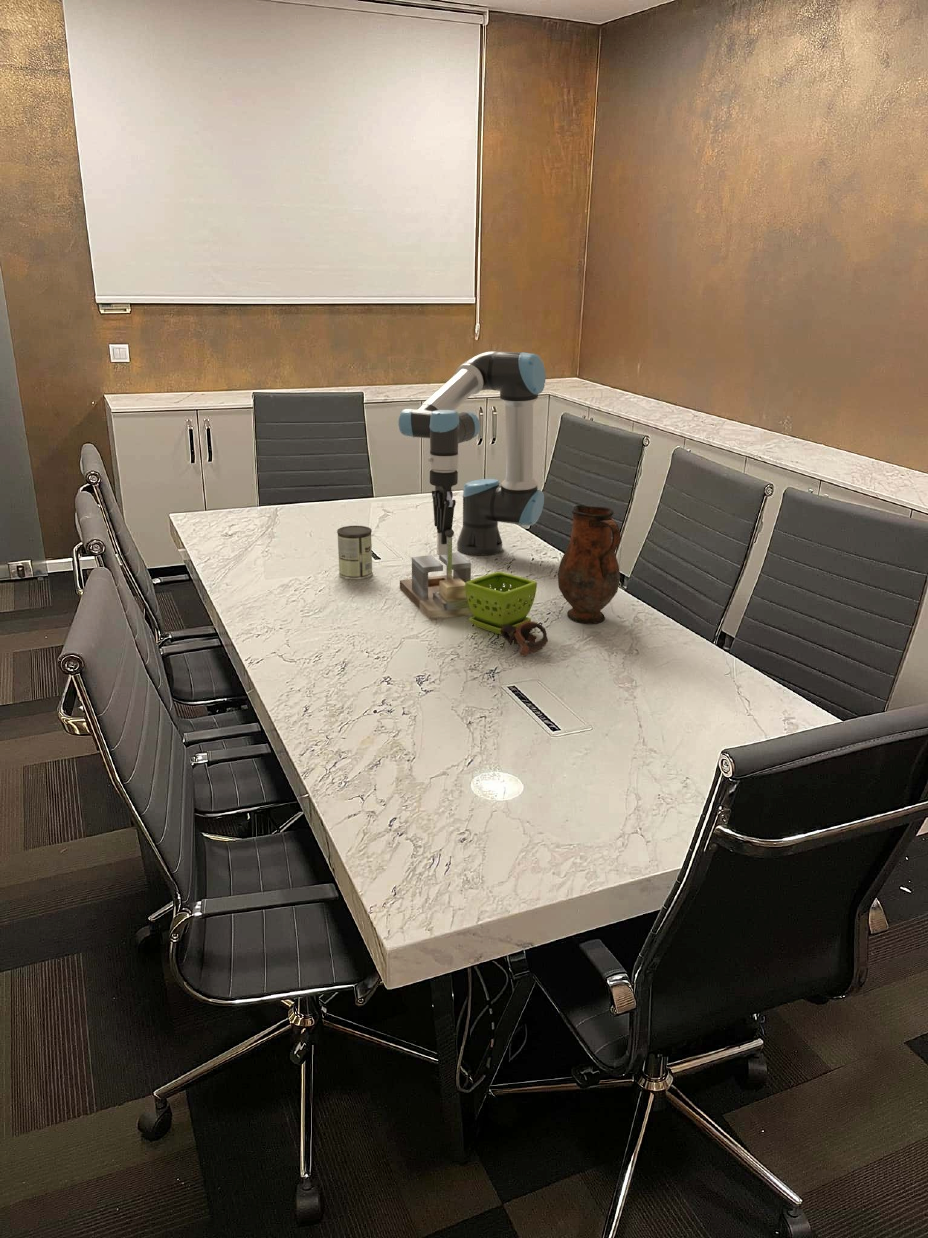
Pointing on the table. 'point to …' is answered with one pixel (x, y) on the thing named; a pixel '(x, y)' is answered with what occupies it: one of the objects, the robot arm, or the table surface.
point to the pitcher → (590, 564)
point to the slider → (436, 596)
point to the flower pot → (500, 600)
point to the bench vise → (434, 584)
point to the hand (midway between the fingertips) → (442, 554)
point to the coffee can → (355, 552)
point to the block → (452, 590)
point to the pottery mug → (524, 636)
